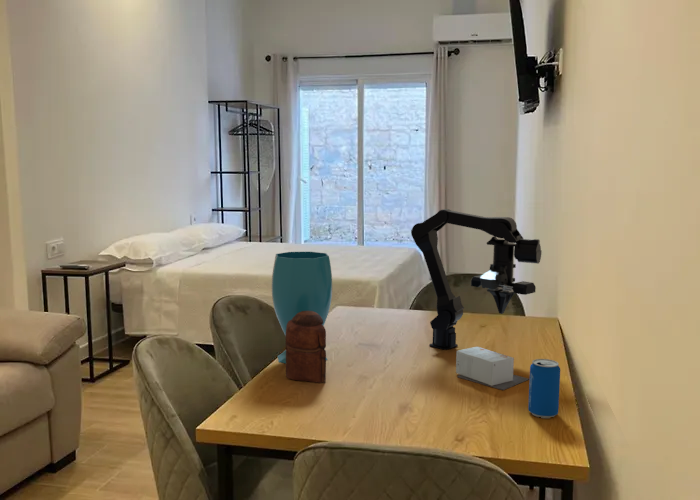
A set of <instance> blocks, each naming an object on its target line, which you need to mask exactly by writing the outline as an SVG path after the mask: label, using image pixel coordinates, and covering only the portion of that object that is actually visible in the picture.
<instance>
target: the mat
mask: <svg viewBox="0 0 700 500" xmlns="http://www.w3.org/2000/svg"><path fill="white" fill-rule="evenodd" d="M457 378H459V379H462V380H467V381H470V382H473V383H475V384H476V383H477V384H480V385H483V386H487V387H490V388H494V389H498V390H501V391H505V390H507V389H510V388H512V387H515V386H516V385H519V384H522V383H524V382H526V381H530V378H529V377H524V376H521V375H516V374H513V381H509V382H506V383H501V384H498V385H494V386H491V385H488V384H485V383H482V382H480V381H477V380H474V379H471V378H468V377H466V376H463V375H460V374H458V375H457Z"/></svg>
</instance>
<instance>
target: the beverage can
mask: <svg viewBox="0 0 700 500" xmlns="http://www.w3.org/2000/svg"><path fill="white" fill-rule="evenodd" d="M560 384H561V367H560V366H559V362H558V361H556V360H554V359H553V360H552V359H549V358H536V359H533V360H532V362H531V364H530V366H529V384H528V386H529V387H528V406H527V407H528V411H529V412H530V413H531V415H532V416H534V417H536V418H539V417H541V418H540V419H551V418H550V417H553V418H554V417H555V416H557V415H558V414H559V408H560V407H559V404H560Z"/></svg>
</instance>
